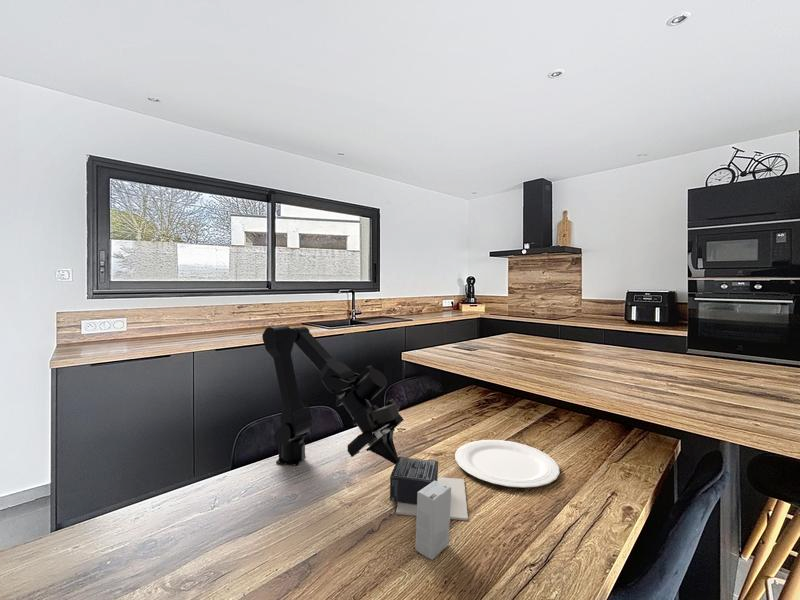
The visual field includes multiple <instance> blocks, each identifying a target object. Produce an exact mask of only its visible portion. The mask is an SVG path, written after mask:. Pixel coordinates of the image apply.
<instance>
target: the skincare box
mask: <svg viewBox="0 0 800 600" xmlns="http://www.w3.org/2000/svg"><path fill="white" fill-rule="evenodd" d="M450 506H451V487H449V486H447V485H445V484H442V483H440V482H437V481H433V482H432V483H430V484H429V485H427V486H426V487H424V488H423V489H421V490H420V491H418V492H417V516H416V522H415V526H416V527H415V546H414V547H415V548H414V549H415V551H416V552H418V553H420V554H421V555H422V556H424V557H425V558H427V559H429V560H431V561H432V560H434V559H435V558H436V557H437V556H438V555H439V554H440V553H441V552H442V551H443V550H444V549H445V548H447V547H448V545H449V544H450V527H451V519H450Z"/></svg>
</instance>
